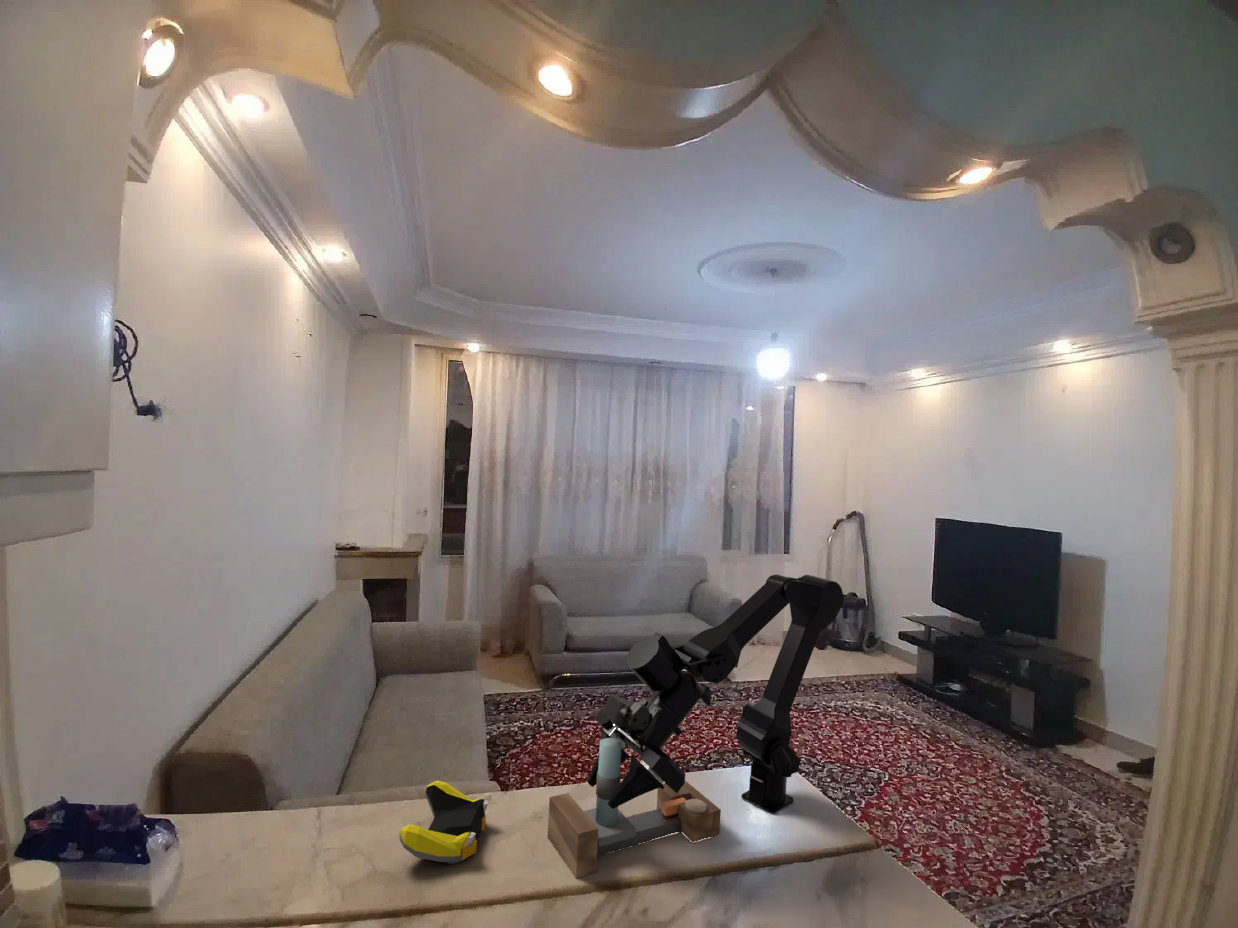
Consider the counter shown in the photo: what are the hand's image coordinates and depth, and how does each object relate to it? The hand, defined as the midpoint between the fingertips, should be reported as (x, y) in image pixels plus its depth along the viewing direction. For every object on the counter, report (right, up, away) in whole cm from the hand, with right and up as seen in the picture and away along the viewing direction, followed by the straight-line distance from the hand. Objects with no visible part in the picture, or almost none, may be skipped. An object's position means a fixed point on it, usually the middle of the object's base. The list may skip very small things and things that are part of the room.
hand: (599, 795), depth 93 cm
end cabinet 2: (+14, -8, +8) cm, 18 cm away
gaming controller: (-22, -7, 0) cm, 23 cm away
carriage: (+1, -5, +1) cm, 5 cm away
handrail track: (+5, -8, +3) cm, 10 cm away
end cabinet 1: (-4, -7, -2) cm, 9 cm away
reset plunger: (+11, -6, +7) cm, 14 cm away
